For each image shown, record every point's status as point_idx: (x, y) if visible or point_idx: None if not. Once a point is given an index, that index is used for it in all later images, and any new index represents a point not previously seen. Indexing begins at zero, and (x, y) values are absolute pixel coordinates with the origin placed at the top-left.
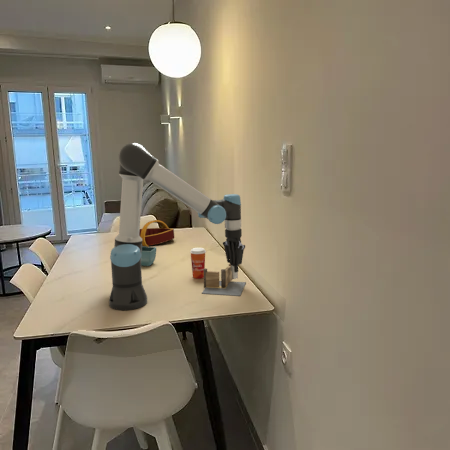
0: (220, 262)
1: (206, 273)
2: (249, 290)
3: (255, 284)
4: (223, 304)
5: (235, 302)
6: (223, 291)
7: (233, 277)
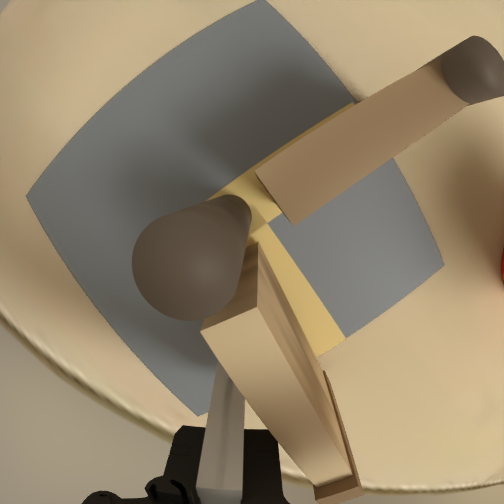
0: (492, 449)
1: (425, 69)
2: (68, 321)
3: (137, 419)
4: (33, 39)
5: (3, 110)
6: (148, 142)
7: (216, 375)
